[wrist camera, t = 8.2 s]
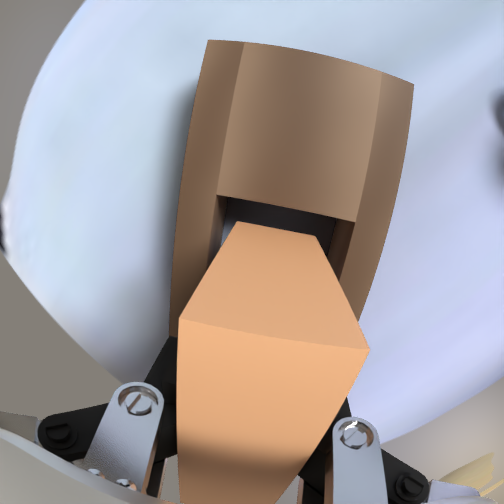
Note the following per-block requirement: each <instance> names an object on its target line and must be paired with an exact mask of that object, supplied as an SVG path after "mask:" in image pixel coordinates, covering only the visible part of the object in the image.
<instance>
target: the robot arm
mask: <svg viewBox="0 0 504 504" xmlns="http://www.w3.org/2000/svg"><path fill="white" fill-rule="evenodd" d="M177 351H178V337H174V336H170V337H169V338H168V339H167V341H166V343H165V345H164V347H163V348H162V350H161V352H160V354H159V355H158V357H157V359H156V361H155V363H154V364H153V366H152V368H151V370H150V372H149V374H148V375H147V377H146V379H145V381H144V383H143V382H129V383H126V384H123V385H122V386H120V387H119V388H117V390H116V391H115V392H114V394H113V396H112V398H111V400H110V402H109V403H106V404H102V405H98V406H93V407H89V408H84V409H79V410H75V411H70V412H65V413H60V414H54V415H51V416H48V417H46V418H45V419H43V420H38V418H37V417H35V416H27V415H20V414H14V413H8V412H2V411H0V504H176V503H172V502H169V501H165V500H161V499H160V495H161V490H162V485H163V480H164V475H165V470H166V465H167V460H168V457H171V456H173V455H176V454H178V453H177ZM297 475H298V476H300V479H299V487H298V496H297V504H498V503H497V502H496V501H494V500H492V499H489V498H486V497H481V496H480V494H479V492H478V491H477V490H476V489H475V488H472V487H468V486H462V485H456V484H451V483H446V482H441V481H436V480H431V481H430V482H428V480H427V479H426V477H425V476H424V475H422V474H421V473H420V472H419V471H417V470H415V469H413V468H412V467H410V466H408V465H407V464H405V463H403V462H402V461H400V460H399V459H397V458H395V457H394V456H392V455H391V454H389V453H387V452H386V451H384V450H383V449H381V448H380V442H379V436H378V433H377V430H376V429H375V428H374V426H373V425H372V424H370V423H369V422H368V421H366V420H364V419H361V418H357V417H352V416H351V412H350V408H349V404H348V400H347V397H346V399H345V400H344V402H343V404H342V406H341V408H340V409H339V411H338V413H337V415H336V416H335V418H334V420H333V421H332V423H331V425H330V426H329V428H328V430H327V431H326V433H325V434H324V436H323V438H322V439H321V441H320V442H319V444H318V445H317V447H316V448H315V450H314V451H313V453H312V454H311V456H310V457H309V459H308V460H307V462H306V463H305V465H304V466H303V467H302V469H301V470H300V472H299V473H298V474H297Z"/></svg>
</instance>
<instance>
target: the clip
mask: <svg viewBox="0 0 504 504" xmlns="http://www.w3.org/2000/svg"><path fill="white" fill-rule="evenodd" d="M369 351H370V348H369V346H368V344H367V342H366V339H365V337H364V335H363V333H362V330H361V328H360V326H359V324H358V322H357V319H356V317H355V315H354V313H353V311H352V309H351V307H350V304H349V302H348V300H347V298H346V296H345V294H344V292H343V290H342V288H341V286H340V284H339V282H338V280H337V278H336V276H335V274H334V272H333V270H332V268H331V266H330V264H329V262H328V260H327V258H326V256H325V254H324V252H323V250H322V248H321V246H320V244H319V242H318V240H317V238H316V237H315V236H312V235H307V234H302V233H297V232H292V231H287V230H282V229H276V228H271V227H266V226H261V225H255V224H250V223H245V222H239V221H237V222H236V224H235V226H234V227H233V229H232V230H231V232H230V234H229V235H228V237H227V238H226V240H225V242H224V243H223V245H222V247H221V248H220V250H219V252H218V253H217V255H216V257H215V258H214V260H213V261H212V263H211V265H210V266H209V268H208V270H207V271H206V273H205V275H204V276H203V278H202V280H201V282H200V283H199V285H198V287H197V288H196V290H195V292H194V293H193V295H192V297H191V298H190V300H189V302H188V304H187V305H186V307H185V309H184V310H183V312H182V314H181V316H180V317H179V328H178V351H177V453H178V474H179V490H180V502H181V503H184V504H275V503H276V501H277V500H278V499H279V498H280V496H281V495H282V494H283V493H284V491H285V490H286V489H287V488H288V486H289V485H290V484H291V482H292V481H293V479H294V478H295V477H296V476H297V474H298V473H299V472H300V470H301V469H302V467H303V466H304V465H305V463H306V462H307V460H308V459H309V457H310V456H311V454H312V453H313V451H314V450H315V448H316V447H317V445H318V444H319V442H320V441H321V439H322V438H323V436H324V434H325V433H326V431H327V430H328V428H329V426H330V425H331V423H332V421H333V420H334V418H335V416H336V415H337V413H338V411H339V409H340V408H341V406H342V404H343V402H344V400H345V399H346V397H347V395H348V393H349V391H350V389H351V388H352V386H353V384H354V382H355V380H356V378H357V376H358V374H359V372H360V370H361V368H362V366H363V364H364V362H365V360H366V358H367V355H368V353H369Z"/></svg>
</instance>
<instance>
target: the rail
mask: <svg viewBox="0 0 504 504" xmlns="http://www.w3.org/2000/svg"><path fill="white" fill-rule="evenodd" d="M413 90H414V84H412V83H410V82H407V81H405V80H402V79H400V78H397V77H395V76H392V75H389V74H386V73H384V72H381V71H378V70H375V69H372V68H369V67H366V66H363V65H359V64H356V63H353V62H349V61H345V60H342V59H338V58H334V57H330V56H326V55H322V54H317V53H313V52H308V51H303V50H298V49H293V48H287V47H281V46H274V45H267V44H259V43H250V42H239V41H225V40H208V42H207V46H206V50H205V54H204V59H203V63H202V67H201V72H200V76H199V81H198V86H197V90H196V95H195V100H194V105H193V111H192V116H191V121H190V127H189V133H188V139H187V145H186V151H185V158H184V165H183V171H182V179H181V186H180V194H179V202H178V211H177V220H176V230H175V241H174V252H173V265H172V279H171V297H170V320H169V337H170V336H174V337H178V328H179V317H180V316H181V314H182V312H183V310H184V309H185V307H186V305H187V304H188V302H189V300H190V298H191V297H192V295H193V293H194V292H195V290H196V288H197V287H198V285H199V283H200V282H201V280H202V278H203V276H204V275H205V273H206V271H207V270H208V268H209V266H210V265H211V263H212V261H213V260H214V258H215V257H216V255H217V253H218V252H219V250H220V246H221V240H222V233H223V226H224V220H225V213H226V207H227V200H228V197H234V198H239V199H245V200H251V201H256V202H261V203H267V204H272V205H277V206H282V207H287V208H292V209H297V210H302V211H307V212H312V213H316V214H321V215H326V216H330V217H335V218H337V219H336V224H335V228H334V232H333V236H332V240H331V244H330V248H329V252H328V255H327V260H328V262H329V264H330V266H331V268H332V270H333V272H334V274H335V276H336V278H337V280H338V282H339V284H340V286H341V288H342V290H343V292H344V294H345V296H346V298H347V300H348V302H349V304H350V307H351V309H352V311H353V313H354V315H355V317H356V319H357V322H358V321H359V318H360V315H361V313H362V310H363V307H364V305H365V302H366V299H367V296H368V293H369V291H370V288H371V285H372V282H373V279H374V276H375V273H376V269H377V266H378V263H379V260H380V257H381V253H382V250H383V246H384V243H385V239H386V236H387V232H388V228H389V225H390V221H391V217H392V213H393V209H394V205H395V200H396V196H397V192H398V187H399V182H400V178H401V173H402V168H403V162H404V157H405V151H406V145H407V139H408V132H409V125H410V118H411V109H412V100H413Z"/></svg>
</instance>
